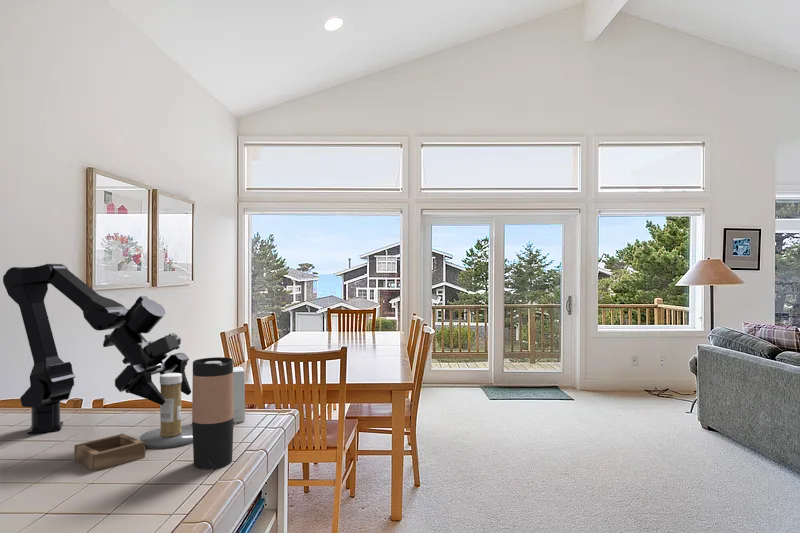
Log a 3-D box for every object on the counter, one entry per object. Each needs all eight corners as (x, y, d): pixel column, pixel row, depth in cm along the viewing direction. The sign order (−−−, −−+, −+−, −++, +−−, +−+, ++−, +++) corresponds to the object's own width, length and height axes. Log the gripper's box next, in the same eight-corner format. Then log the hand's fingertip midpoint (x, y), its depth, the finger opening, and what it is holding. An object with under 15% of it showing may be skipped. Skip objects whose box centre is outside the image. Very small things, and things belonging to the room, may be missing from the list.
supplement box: (245, 422, 133) (245, 371, 133) (213, 425, 130) (213, 373, 130) (243, 414, 140) (242, 366, 140) (212, 417, 137) (212, 367, 137)
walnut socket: (74, 460, 106) (74, 445, 106) (122, 447, 114) (122, 433, 114) (95, 471, 100) (95, 455, 100) (144, 457, 108) (144, 442, 108)
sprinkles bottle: (186, 433, 120) (186, 373, 120) (168, 438, 116) (168, 376, 116) (172, 430, 123) (173, 371, 123) (154, 435, 119) (155, 374, 119)
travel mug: (198, 456, 108) (198, 357, 108) (237, 455, 109) (237, 356, 109) (186, 470, 100) (186, 364, 101) (228, 469, 101) (228, 363, 101)
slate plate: (138, 435, 122) (138, 430, 122) (199, 427, 128) (199, 423, 128) (140, 452, 111) (140, 447, 111) (206, 442, 117) (206, 438, 117)
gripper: (126, 327, 112) (173, 382, 109) (181, 319, 130) (223, 366, 127) (94, 363, 113) (139, 419, 111) (153, 350, 131) (193, 398, 129)
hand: (177, 398), depth 119 cm, fingers open, 9 cm apart
